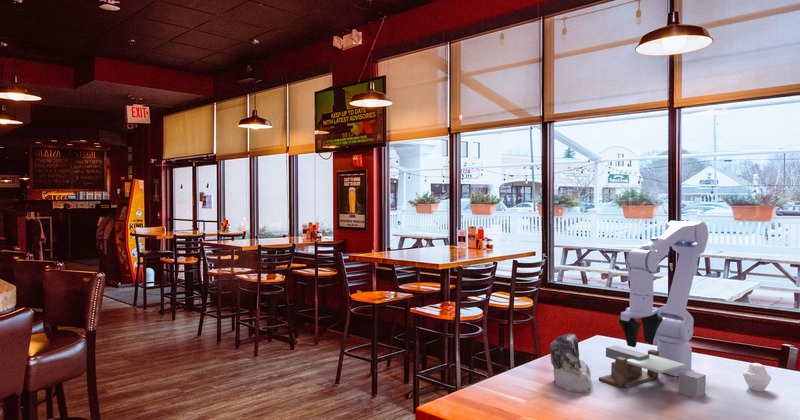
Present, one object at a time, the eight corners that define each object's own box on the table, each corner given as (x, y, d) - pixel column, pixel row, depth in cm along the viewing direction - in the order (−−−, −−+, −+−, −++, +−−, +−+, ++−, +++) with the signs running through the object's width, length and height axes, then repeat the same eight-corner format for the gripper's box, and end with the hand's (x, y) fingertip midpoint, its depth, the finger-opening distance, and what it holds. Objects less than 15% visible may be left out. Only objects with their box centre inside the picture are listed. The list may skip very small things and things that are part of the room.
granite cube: (687, 389, 140) (687, 370, 140) (705, 394, 136) (705, 375, 136) (678, 392, 137) (679, 373, 137) (696, 398, 134) (697, 378, 134)
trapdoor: (623, 352, 154) (623, 343, 154) (685, 371, 139) (685, 361, 139) (598, 358, 149) (598, 349, 149) (659, 378, 133) (660, 367, 133)
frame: (635, 370, 154) (636, 345, 154) (658, 378, 148) (658, 351, 148) (598, 380, 145) (599, 353, 145) (621, 388, 140) (622, 359, 139)
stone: (603, 399, 136) (583, 350, 133) (566, 411, 138) (545, 364, 135) (590, 368, 149) (570, 323, 146) (556, 380, 151) (536, 336, 148)
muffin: (746, 383, 145) (746, 357, 145) (773, 389, 140) (774, 363, 140) (739, 389, 140) (740, 362, 140) (767, 395, 136) (768, 368, 136)
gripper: (644, 289, 151) (642, 337, 151) (611, 294, 143) (610, 344, 144) (668, 293, 145) (666, 343, 145) (635, 298, 137) (633, 351, 138)
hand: (640, 344), depth 144 cm, fingers open, 7 cm apart
